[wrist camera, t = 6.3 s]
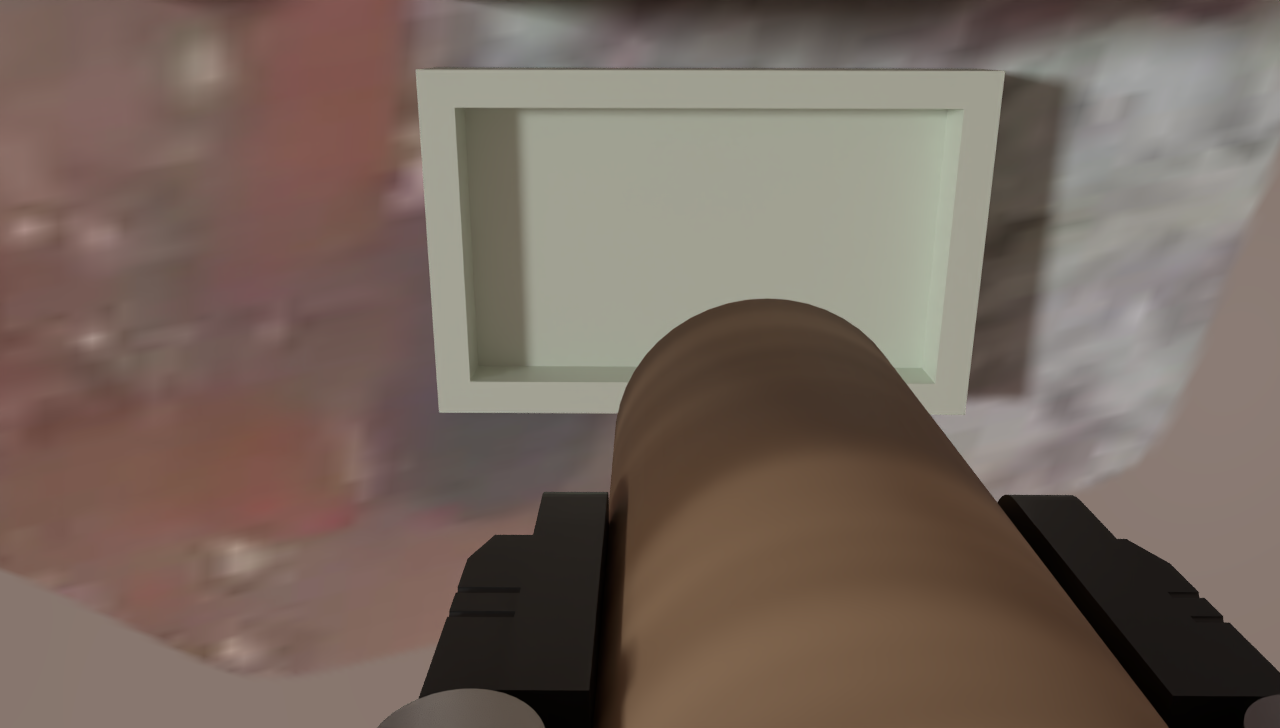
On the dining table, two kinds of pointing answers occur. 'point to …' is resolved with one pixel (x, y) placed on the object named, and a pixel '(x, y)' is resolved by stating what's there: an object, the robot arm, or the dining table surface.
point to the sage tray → (696, 217)
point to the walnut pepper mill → (822, 552)
